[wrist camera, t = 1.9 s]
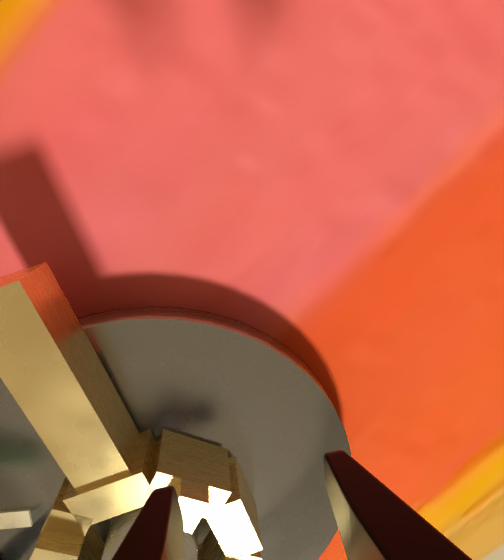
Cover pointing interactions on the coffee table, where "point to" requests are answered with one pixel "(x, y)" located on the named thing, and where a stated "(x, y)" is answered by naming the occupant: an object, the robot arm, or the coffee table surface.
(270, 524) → the flange
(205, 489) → the brass ring wrench
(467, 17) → the coffee table surface
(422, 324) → the coffee table surface
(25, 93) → the coffee table surface
